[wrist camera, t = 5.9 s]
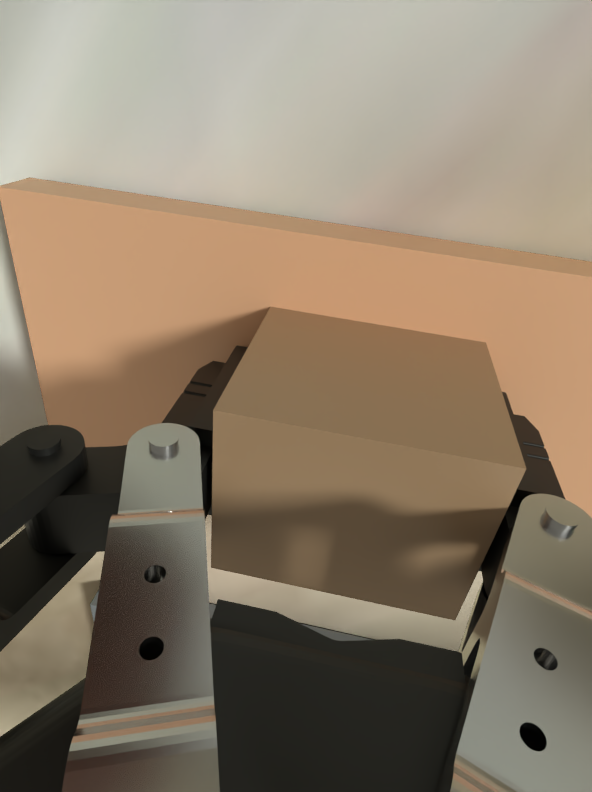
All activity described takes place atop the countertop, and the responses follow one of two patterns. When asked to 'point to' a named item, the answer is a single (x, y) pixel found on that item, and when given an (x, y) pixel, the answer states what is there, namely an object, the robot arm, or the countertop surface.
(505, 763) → the robot arm
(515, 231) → the countertop surface
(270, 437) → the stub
